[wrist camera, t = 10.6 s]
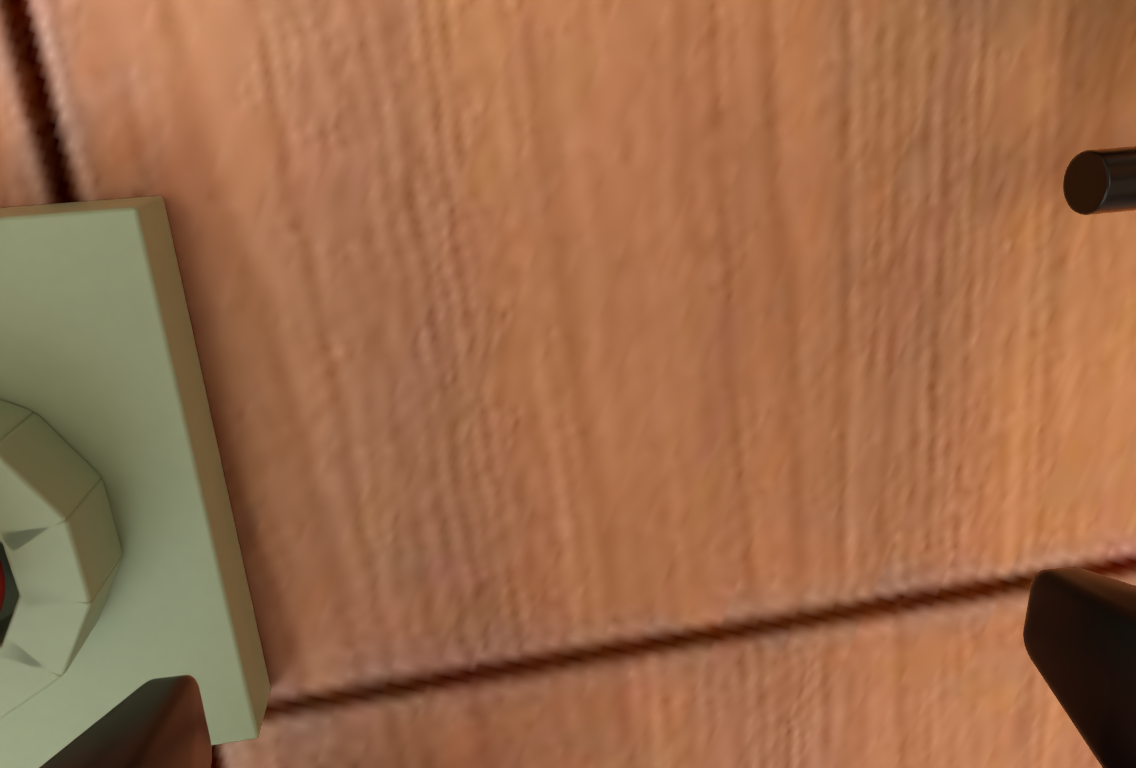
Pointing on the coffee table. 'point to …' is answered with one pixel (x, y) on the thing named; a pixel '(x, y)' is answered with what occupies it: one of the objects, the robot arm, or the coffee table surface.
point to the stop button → (2, 585)
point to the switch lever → (1101, 181)
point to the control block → (110, 485)
